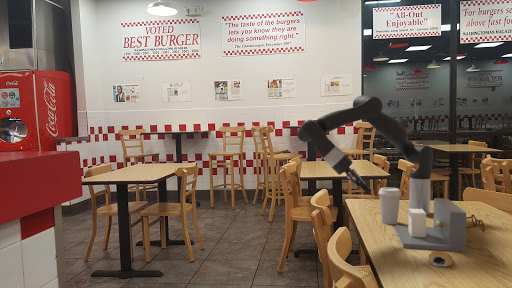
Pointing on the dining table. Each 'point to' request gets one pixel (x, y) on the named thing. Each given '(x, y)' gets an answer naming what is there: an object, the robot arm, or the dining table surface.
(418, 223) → the white box
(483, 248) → the dining table surface
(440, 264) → the pastry
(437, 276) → the dining table surface
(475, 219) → the glasses
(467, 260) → the dining table surface
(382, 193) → the coffee cup
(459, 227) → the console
